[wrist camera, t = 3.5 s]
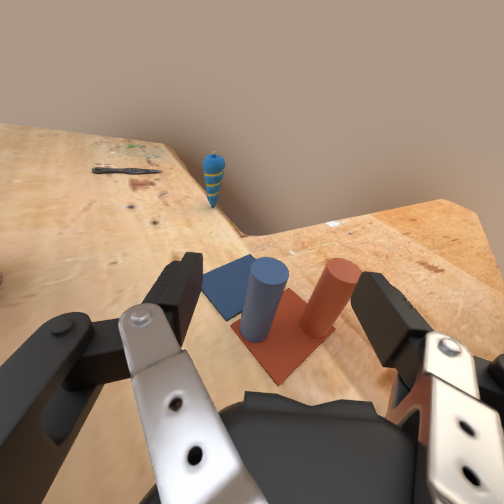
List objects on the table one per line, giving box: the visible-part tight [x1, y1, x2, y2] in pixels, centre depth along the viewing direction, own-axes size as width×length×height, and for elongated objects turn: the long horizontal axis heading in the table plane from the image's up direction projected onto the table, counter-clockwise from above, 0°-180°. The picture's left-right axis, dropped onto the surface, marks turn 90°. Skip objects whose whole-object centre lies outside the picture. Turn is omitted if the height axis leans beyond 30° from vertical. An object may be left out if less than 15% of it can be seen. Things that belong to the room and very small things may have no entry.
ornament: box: [203, 152, 225, 208], centre depth 54 cm, size 5×5×15 cm
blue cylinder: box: [239, 257, 289, 343], centre depth 28 cm, size 4×4×12 cm
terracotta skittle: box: [300, 258, 362, 338], centre depth 30 cm, size 4×4×12 cm
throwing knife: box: [92, 167, 162, 174], centre depth 69 cm, size 4×20×1 cm, turn 111°
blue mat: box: [201, 254, 256, 321], centre depth 39 cm, size 10×13×1 cm
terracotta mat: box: [231, 288, 336, 386], centre depth 33 cm, size 10×13×1 cm
